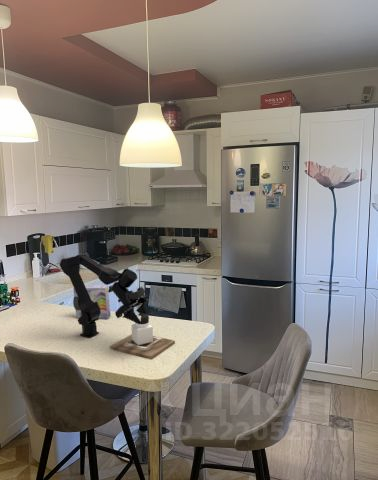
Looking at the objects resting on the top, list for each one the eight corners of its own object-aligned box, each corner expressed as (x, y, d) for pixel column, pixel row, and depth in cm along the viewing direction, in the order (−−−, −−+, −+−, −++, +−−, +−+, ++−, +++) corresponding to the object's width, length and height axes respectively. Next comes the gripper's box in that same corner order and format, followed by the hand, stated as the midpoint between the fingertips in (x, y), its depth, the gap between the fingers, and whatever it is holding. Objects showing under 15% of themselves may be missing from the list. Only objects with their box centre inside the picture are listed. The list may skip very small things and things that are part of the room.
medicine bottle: (146, 336, 173) (145, 311, 171) (153, 341, 167) (152, 315, 165) (131, 339, 169) (130, 314, 167) (138, 345, 163) (137, 318, 161)
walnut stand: (110, 348, 166) (109, 343, 165) (135, 334, 181) (135, 329, 181) (151, 359, 155) (151, 353, 154) (174, 343, 170) (174, 338, 170)
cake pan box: (73, 318, 205) (71, 286, 203) (77, 315, 210) (75, 284, 208) (107, 320, 202) (106, 287, 200) (111, 316, 207) (109, 285, 205)
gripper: (119, 287, 158) (142, 317, 154) (145, 278, 174) (166, 304, 171) (105, 303, 162) (127, 332, 159) (131, 292, 179) (152, 318, 175)
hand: (144, 321), depth 166 cm, fingers closed on medicine bottle, 6 cm apart
